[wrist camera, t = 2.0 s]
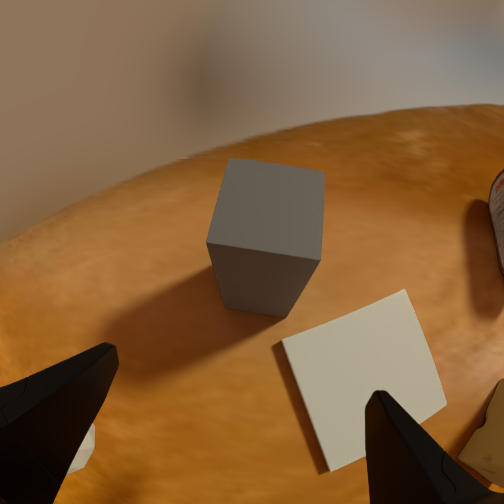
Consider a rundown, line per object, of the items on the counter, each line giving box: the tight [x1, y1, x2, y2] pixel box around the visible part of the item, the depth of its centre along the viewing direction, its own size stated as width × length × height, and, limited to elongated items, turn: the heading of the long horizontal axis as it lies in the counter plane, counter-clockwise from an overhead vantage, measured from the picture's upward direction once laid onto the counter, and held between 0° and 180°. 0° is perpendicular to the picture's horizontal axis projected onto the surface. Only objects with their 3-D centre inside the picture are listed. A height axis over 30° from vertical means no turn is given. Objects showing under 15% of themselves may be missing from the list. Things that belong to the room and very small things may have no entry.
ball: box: [66, 423, 95, 475], centre depth 15 cm, size 8×8×8 cm
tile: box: [281, 289, 447, 472], centre depth 21 cm, size 12×12×1 cm
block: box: [206, 158, 325, 318], centre depth 19 cm, size 5×5×12 cm
